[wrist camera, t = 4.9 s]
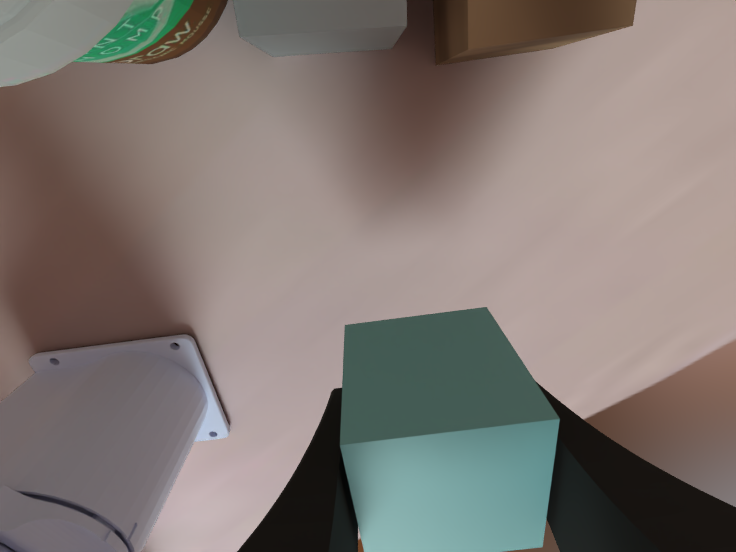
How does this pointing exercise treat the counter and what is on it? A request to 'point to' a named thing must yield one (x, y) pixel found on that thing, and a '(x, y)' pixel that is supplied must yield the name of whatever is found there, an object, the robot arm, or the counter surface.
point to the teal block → (444, 436)
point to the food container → (98, 33)
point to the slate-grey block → (320, 25)
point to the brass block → (521, 25)
